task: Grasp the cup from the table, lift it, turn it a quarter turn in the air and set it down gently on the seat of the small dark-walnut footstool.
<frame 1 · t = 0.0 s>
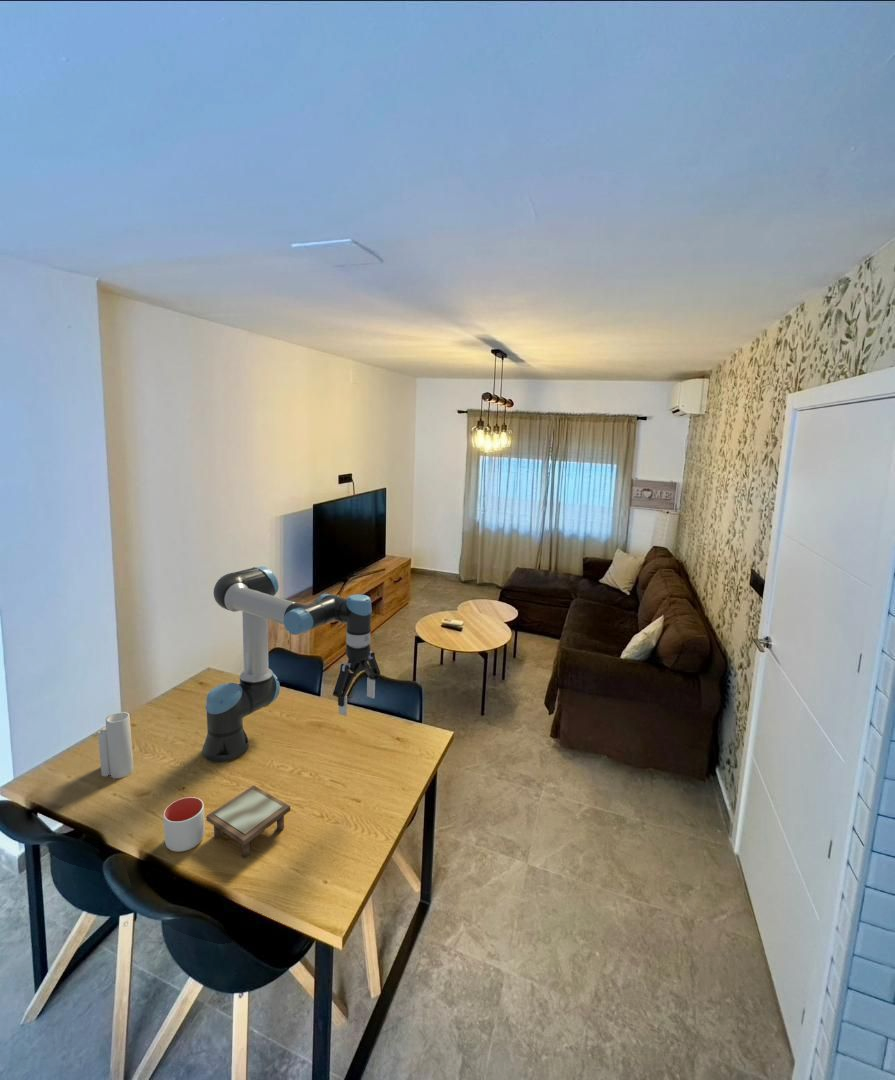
hand: (357, 705, 170), 28 cm above the table, fingers open, 13 cm apart
vase: (116, 771, 175), on the table
cup: (185, 840, 148), on the table
footstool: (249, 832, 152), on the table
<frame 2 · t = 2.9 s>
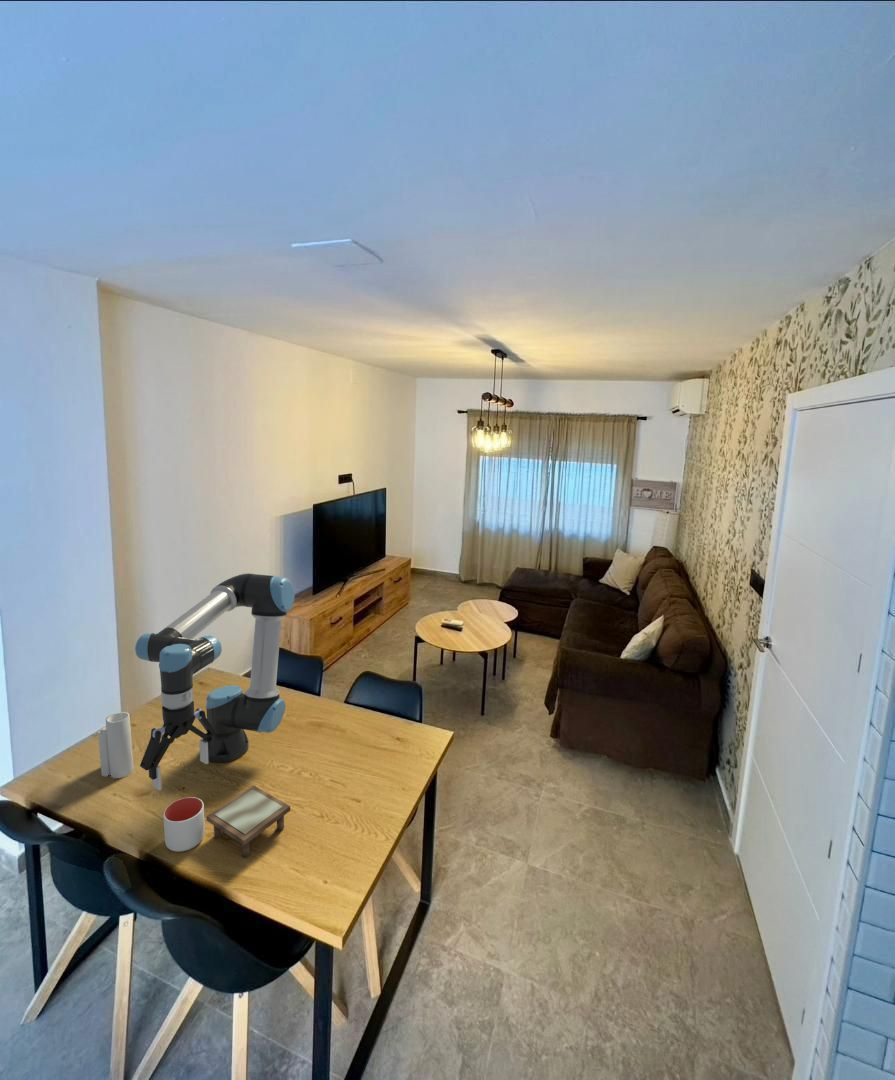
hand: (181, 774, 144), 21 cm above the table, fingers open, 13 cm apart
nothing on the table moved.
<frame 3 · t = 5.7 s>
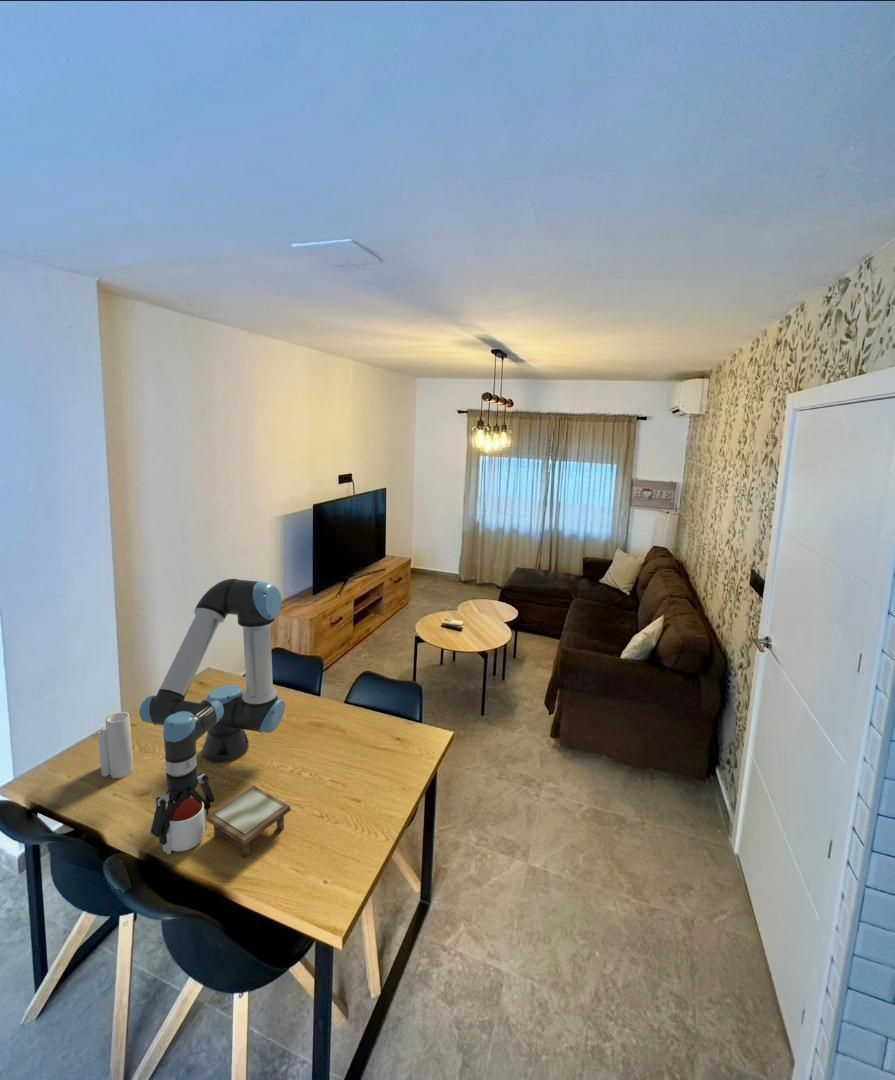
hand: (185, 839, 148), 0 cm above the table, fingers closed on cup, 10 cm apart
cup: (185, 840, 148), on the table, touching gripper
everything else where it was.
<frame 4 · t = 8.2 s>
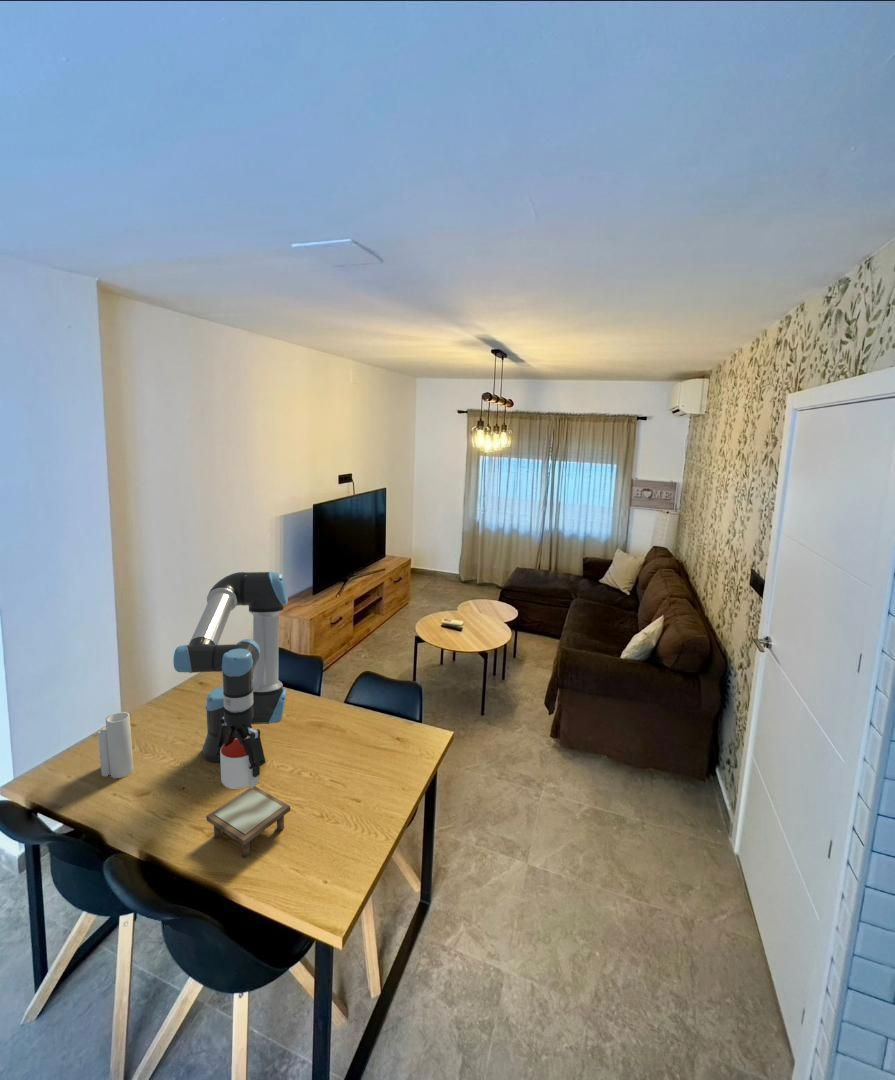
hand: (240, 778, 148), 18 cm above the table, fingers closed on cup, 10 cm apart
cup: (240, 780, 148), point 17 cm above the table, touching gripper
everything else where it was.
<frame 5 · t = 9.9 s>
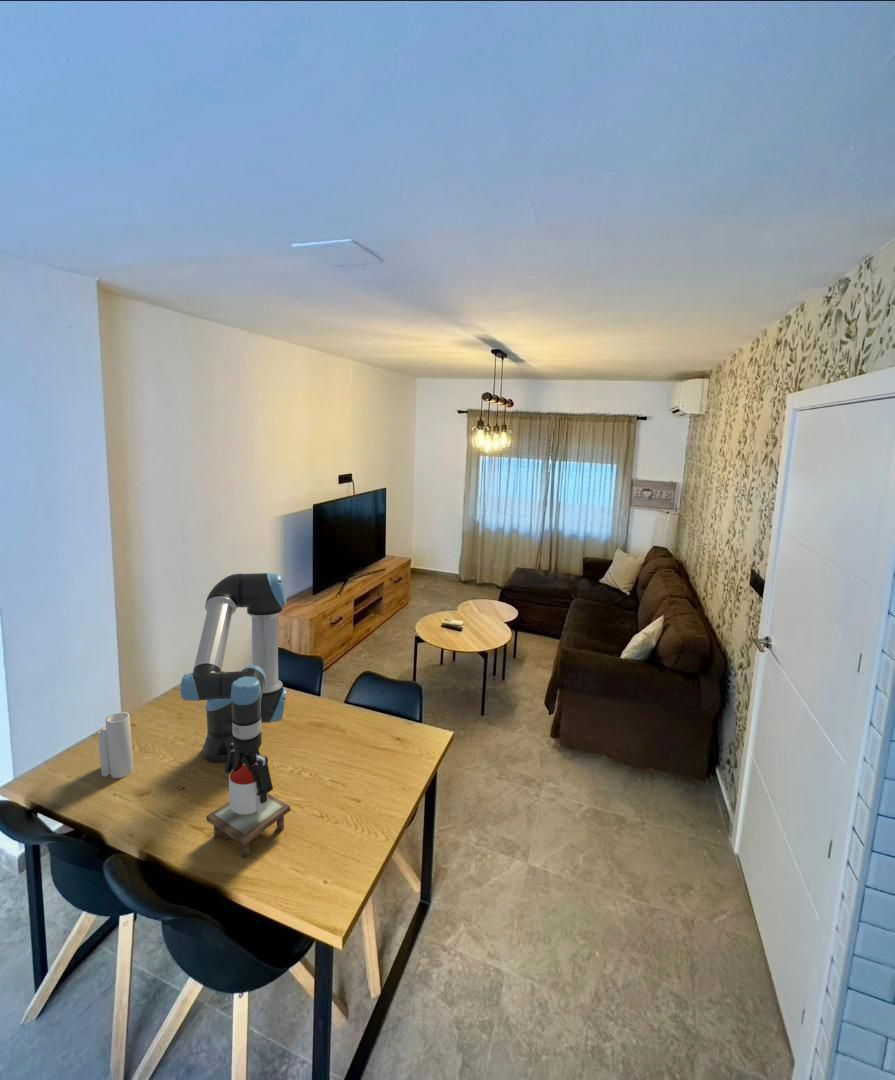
hand: (248, 803, 150), 9 cm above the table, fingers closed on cup, 10 cm apart
cup: (248, 805, 150), point 9 cm above the table, touching gripper
everything else where it was.
when the fingers open (9 cm above the table, at t = 11.0 s): cup drops 1 cm, resting on footstool.
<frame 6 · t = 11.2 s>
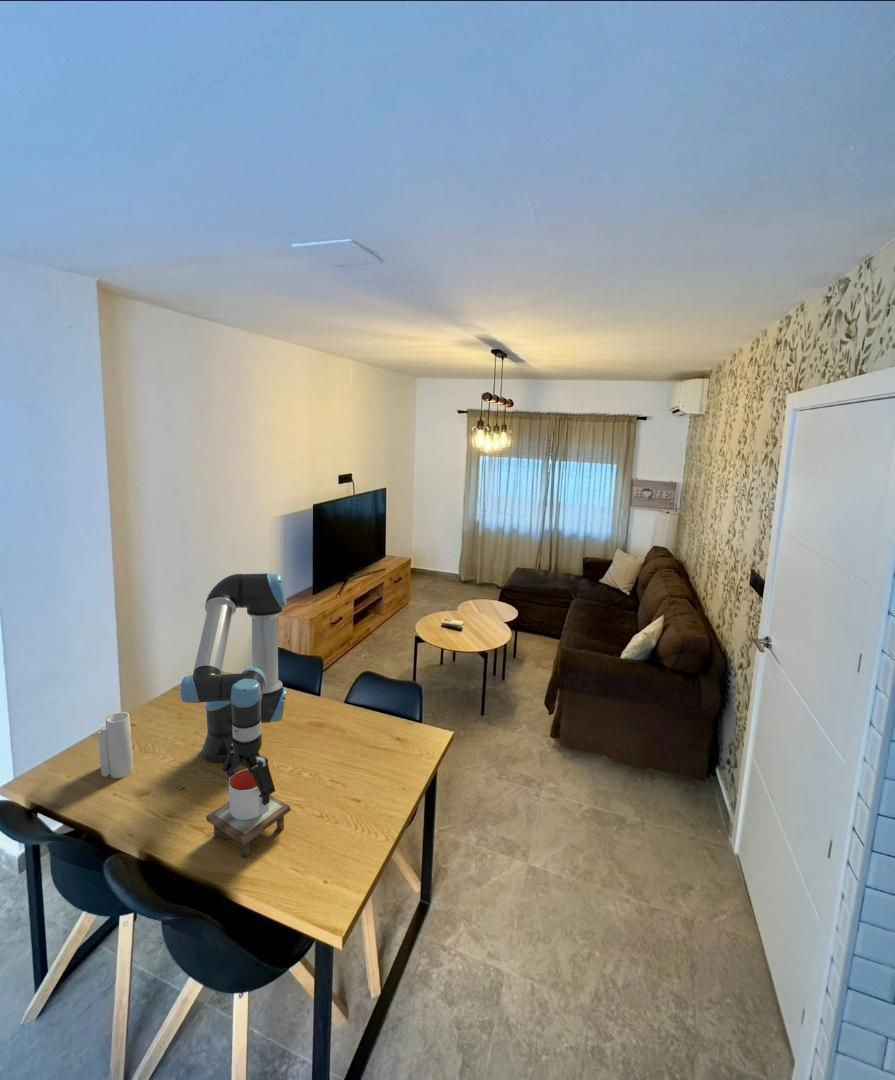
hand: (248, 803, 150), 9 cm above the table, fingers open, 12 cm apart
cup: (249, 810, 151), point 7 cm above the table, touching footstool
everything else where it was.
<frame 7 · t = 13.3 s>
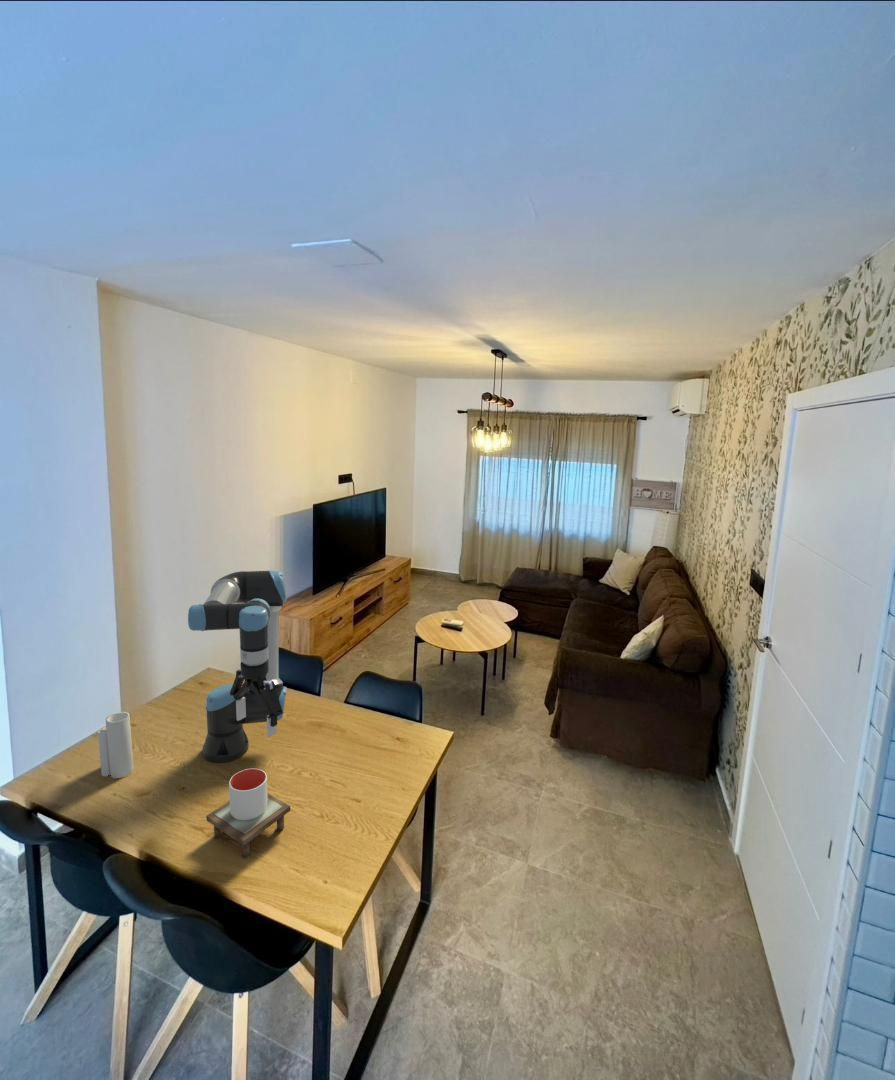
hand: (256, 726, 155), 28 cm above the table, fingers open, 13 cm apart
nothing on the table moved.
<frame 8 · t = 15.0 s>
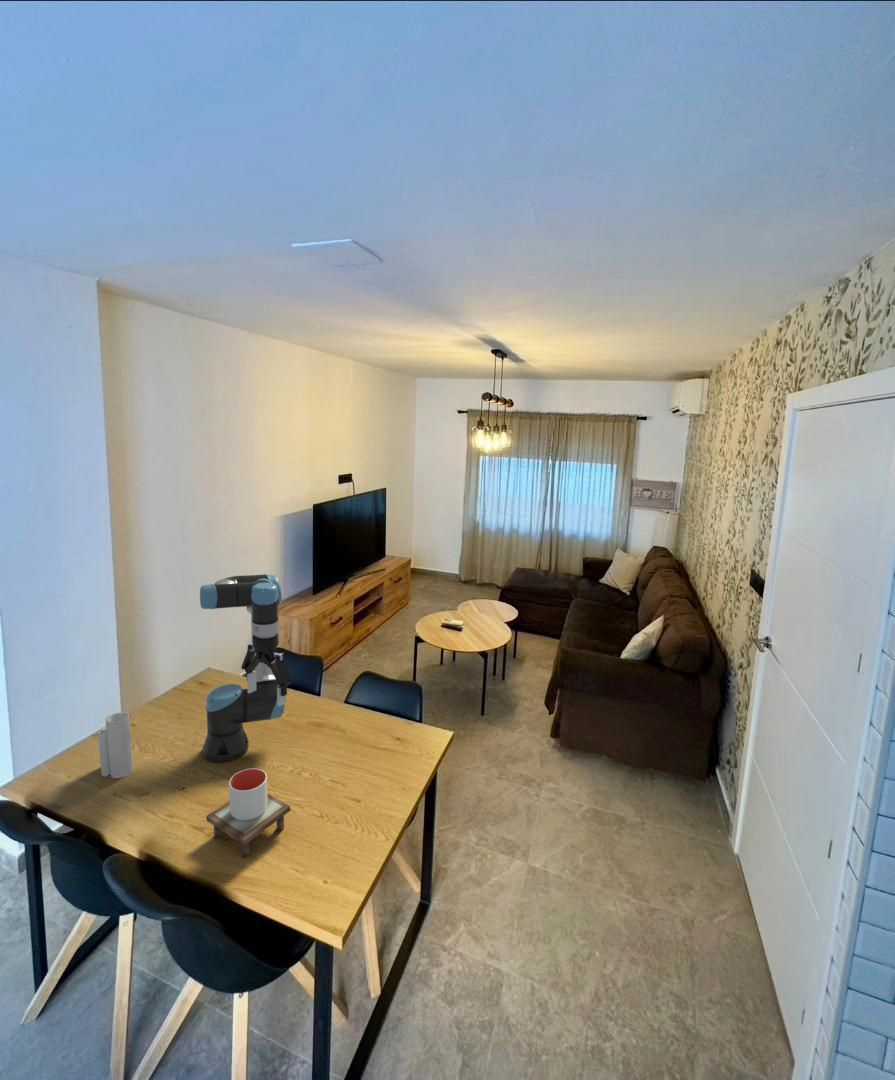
hand: (266, 698, 165), 32 cm above the table, fingers open, 13 cm apart
nothing on the table moved.
at the end: cup inside the target area on the footstool (0.0 cm from its centre), point 7.0 cm above the footstool's base; cup tilted 0°; the gripper is holding nothing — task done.
